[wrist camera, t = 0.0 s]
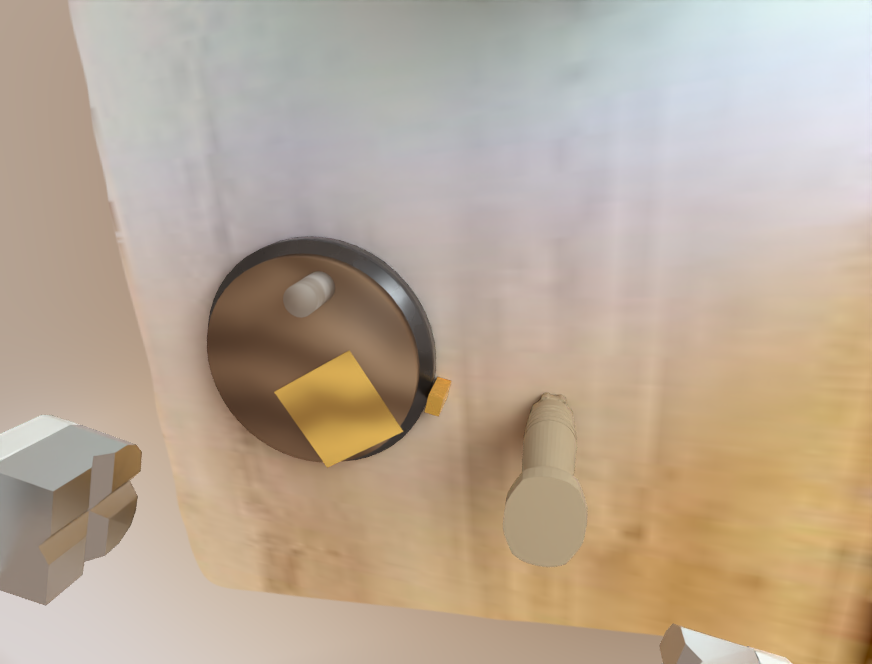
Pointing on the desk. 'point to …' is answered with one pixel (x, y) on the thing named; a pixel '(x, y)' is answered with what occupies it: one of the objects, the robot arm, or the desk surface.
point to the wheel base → (396, 290)
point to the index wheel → (313, 357)
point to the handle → (547, 489)
